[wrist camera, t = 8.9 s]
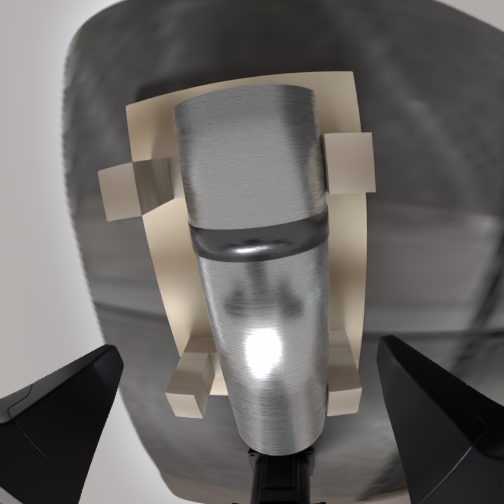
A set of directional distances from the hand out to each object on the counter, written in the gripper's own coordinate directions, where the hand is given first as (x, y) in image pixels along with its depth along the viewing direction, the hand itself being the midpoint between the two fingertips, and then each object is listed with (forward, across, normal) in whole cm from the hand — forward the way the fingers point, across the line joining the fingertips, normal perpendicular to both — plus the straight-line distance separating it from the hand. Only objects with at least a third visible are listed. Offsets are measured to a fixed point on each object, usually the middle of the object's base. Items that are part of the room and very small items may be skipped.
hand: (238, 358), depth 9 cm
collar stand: (+8, 0, 0) cm, 8 cm away
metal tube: (+6, 0, 0) cm, 6 cm away
